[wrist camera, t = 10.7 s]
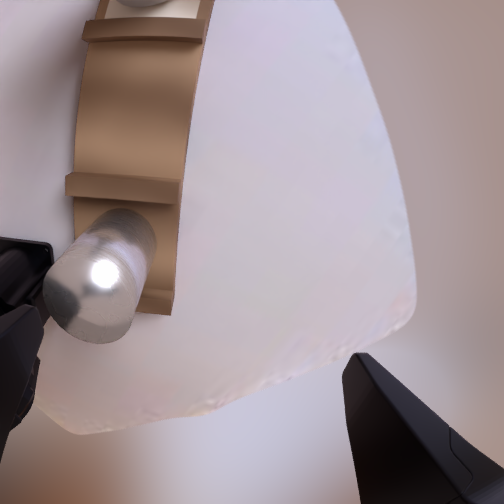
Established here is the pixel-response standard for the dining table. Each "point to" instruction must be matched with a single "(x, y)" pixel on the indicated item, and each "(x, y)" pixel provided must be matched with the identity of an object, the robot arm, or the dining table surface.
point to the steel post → (101, 277)
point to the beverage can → (140, 2)
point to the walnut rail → (139, 124)
